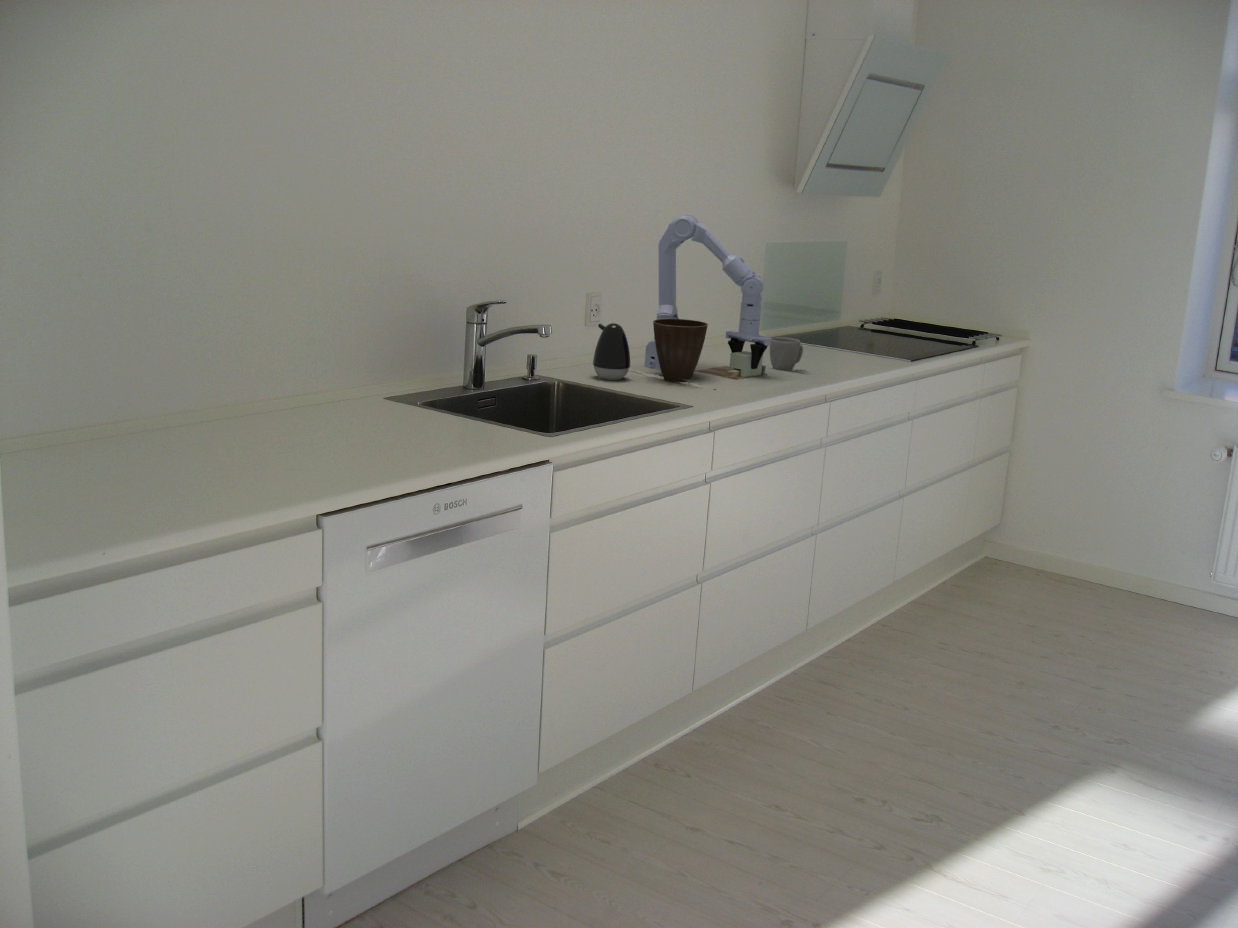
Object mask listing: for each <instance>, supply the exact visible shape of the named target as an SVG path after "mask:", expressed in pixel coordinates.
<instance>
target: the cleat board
mask: <svg viewBox="0 0 1238 928" xmlns="http://www.w3.org/2000/svg"><path fill="white" fill-rule="evenodd" d="M729 367H730V366H727V365H725V366H717V367H711V368H703V369H697V370H696V369H695V372H698V373H703V374H707V375H712V376H717V377H721V378H725V379H730V380H743V379H749V378H755V377H761V376H762V377H763V376H768V374H766V365H764V364H762V371H761V375H756V376H749V377H741V376H740V375H741V369H739V370H733V371H729Z"/></svg>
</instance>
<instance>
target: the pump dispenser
mask: <svg viewBox="0 0 1238 928" xmlns="http://www.w3.org/2000/svg"><path fill="white" fill-rule="evenodd" d="M597 327H598V328H599V329H601V332H600V335H599V337H598V340H597V343H596V346H595V350H594V353H593V358H592V359H593V360H592V365H593V368H594V372H595V374H596V375H597V377H599V378H601V379H602V380H606V381H619V380H621V379H623V378H624V377H626V375H627V374H628V373H629V369H630V368H631V352H630V348H629V347H630V346H629V342H628V338H627V335H626V332H625V330H624V329H623V326H621V325H620V324H618V323H615V322H611V323H609V324H607V325H606V326H605V325H604V324H602V323H599V324H597Z"/></svg>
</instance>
